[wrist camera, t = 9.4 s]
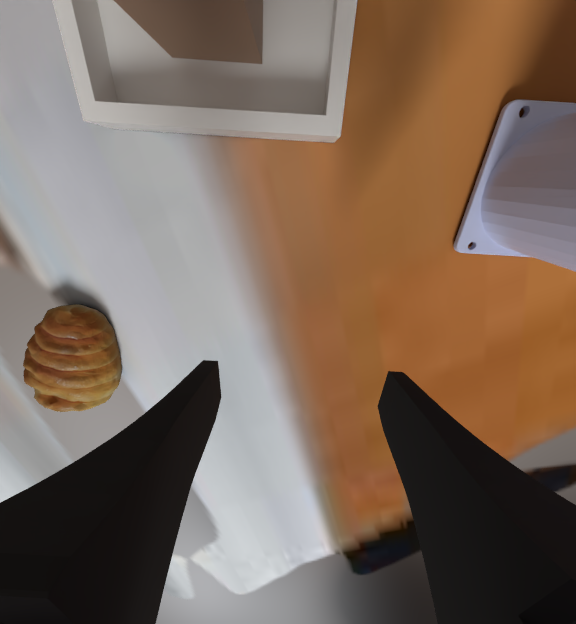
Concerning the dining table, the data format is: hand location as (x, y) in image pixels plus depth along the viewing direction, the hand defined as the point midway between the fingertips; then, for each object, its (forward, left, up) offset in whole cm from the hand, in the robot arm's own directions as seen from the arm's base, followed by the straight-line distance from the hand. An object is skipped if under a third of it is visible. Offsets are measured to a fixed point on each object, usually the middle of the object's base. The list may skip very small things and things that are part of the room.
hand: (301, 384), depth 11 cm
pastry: (+18, +7, -10) cm, 22 cm away
